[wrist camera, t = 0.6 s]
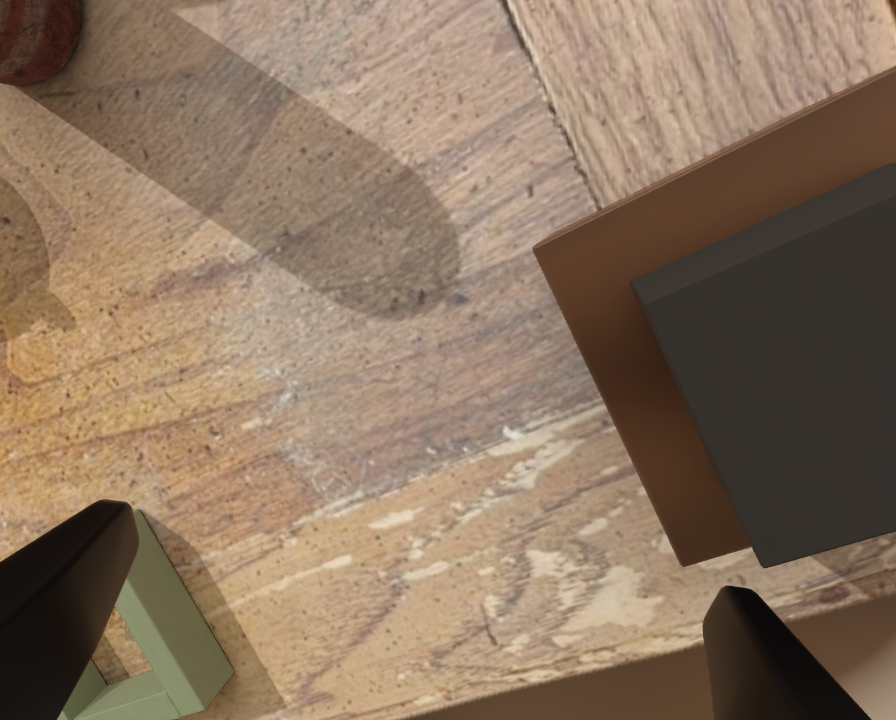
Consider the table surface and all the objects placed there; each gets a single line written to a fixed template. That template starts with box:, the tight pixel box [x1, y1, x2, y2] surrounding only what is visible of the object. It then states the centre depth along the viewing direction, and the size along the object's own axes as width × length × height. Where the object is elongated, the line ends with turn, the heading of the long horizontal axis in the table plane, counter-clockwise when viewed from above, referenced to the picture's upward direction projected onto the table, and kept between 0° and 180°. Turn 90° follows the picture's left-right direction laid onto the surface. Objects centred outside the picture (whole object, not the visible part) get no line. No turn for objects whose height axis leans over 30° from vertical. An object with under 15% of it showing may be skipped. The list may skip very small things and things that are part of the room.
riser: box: [533, 65, 896, 567], centre depth 17 cm, size 9×9×8 cm
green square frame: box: [57, 509, 234, 720], centre depth 30 cm, size 10×10×2 cm
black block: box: [630, 163, 896, 568], centre depth 12 cm, size 6×6×4 cm
